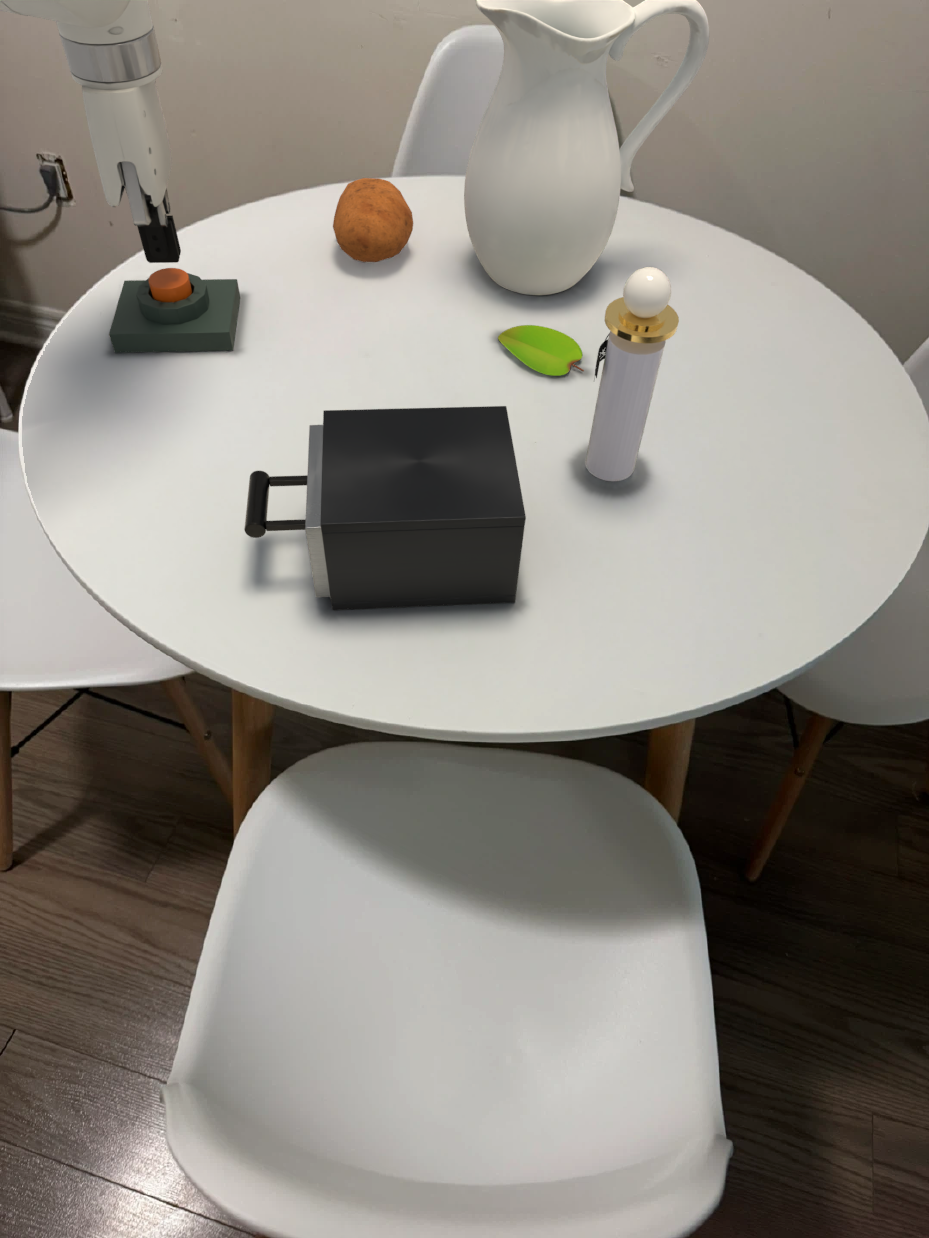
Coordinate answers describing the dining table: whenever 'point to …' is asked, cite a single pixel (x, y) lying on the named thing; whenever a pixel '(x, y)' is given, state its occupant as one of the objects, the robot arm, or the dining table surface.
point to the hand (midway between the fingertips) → (164, 258)
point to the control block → (176, 318)
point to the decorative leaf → (542, 348)
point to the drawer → (312, 524)
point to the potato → (372, 220)
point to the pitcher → (560, 136)
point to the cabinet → (420, 507)
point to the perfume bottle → (629, 372)
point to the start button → (170, 285)
